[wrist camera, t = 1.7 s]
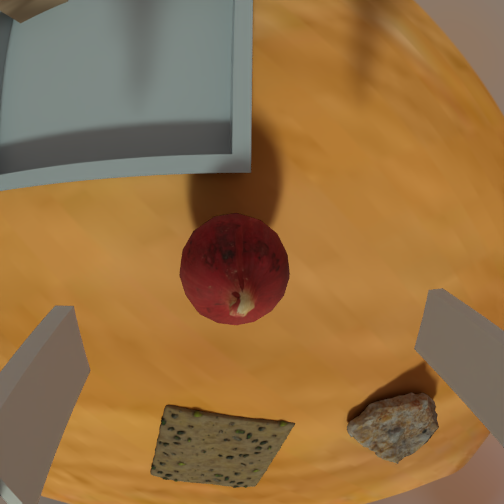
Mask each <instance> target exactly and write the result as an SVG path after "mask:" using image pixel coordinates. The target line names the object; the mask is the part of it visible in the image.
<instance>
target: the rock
mask: <svg viewBox="0 0 504 504" xmlns="http://www.w3.org/2000/svg"><path fill="white" fill-rule="evenodd" d="M435 408H436V406H435V402H434V401H433V400H432V399H431V398H430V397H429V396H428V395H427V394H425V393H420V394H414V393H409V394H406V395H404V396H396V397H393V398H390V399H385V400H381V401H378V402H374V403H371V404H369V405H368V406H367V408H366V409H365V411H363V412H362V413H361V414H360V415H359V416H358V417H356V418H354V419H353V420H351V421H350V422H349V424H348V426H347V431H348V433H349V434H350V436H351V437H354V438H355V439H356V440H357V441H358V442H359V443H360V444H361V445H363V446H364V447H368V448H369V449H370V450H371V451H375V454H376V455H377V456H378V457H380V458H382V459H384V460H389V461H391V462H395V463H398V462H399V461H400V460H402V459H403V458H404V457H406V456H409V455H411V454H413V453H414V452H416V451H417V450H418V449H419V448H420V447H421V446H422V445H424V444H425V443H426V442H427V441H428V440H429V438H431V436H432V435H433V434H434V432H435V431H436V430H437V429H438V427H439V426H438V422H437V413H436V412H435Z"/></svg>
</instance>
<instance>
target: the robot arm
mask: <svg viewBox="0 0 504 504" xmlns="http://www.w3.org/2000/svg"><path fill="white" fill-rule="evenodd" d="M414 349H415V350H416V351H417V352H418V353H419V354H420V355H421V356H422V358H423V359H424V360H425V361H426V362H427V363H428V364H429V365H430V366H431V367H432V368H433V369H434V370H435V371H436V372H437V373H438V374H439V376H440V377H441V378H442V379H443V380H444V381H445V382H446V383H447V384H448V385H449V386H450V387H451V389H452V390H453V391H454V392H455V393H456V394H457V395H458V396H459V397H460V398H461V399H462V401H463V402H464V403H465V404H466V405H467V406H468V407H469V408H470V409H471V411H472V412H473V413H474V414H475V415H476V416H477V417H478V418H479V420H480V421H481V422H482V423H483V424H484V425H485V426H486V428H487V429H488V430H489V431H490V432H491V433H492V434H493V436H494V437H495V438H496V439H497V440H498V441H499V443H500V444H501V445H502V446H503V447H504V331H503V330H502V329H500V328H499V327H497V326H496V325H495V324H493V323H492V322H491V321H489V320H488V319H486V318H485V317H484V316H482V315H481V314H479V313H478V312H476V311H475V310H474V309H472V308H471V307H469V306H468V305H466V304H465V303H463V302H462V301H460V300H459V299H457V298H456V297H455V296H453V295H452V294H450V293H449V292H447V291H446V290H444V289H443V288H442V289H433V290H429V292H428V296H427V301H426V305H425V310H424V314H423V318H422V322H421V326H420V330H419V334H418V337H417V341H416V345H415V348H414ZM89 373H90V368H89V364H88V361H87V357H86V354H85V350H84V347H83V343H82V339H81V335H80V331H79V327H78V323H77V319H76V315H75V310H74V306H55V307H54V308H53V309H52V310H51V311H50V312H49V313H48V314H47V316H46V317H45V318H44V319H43V320H42V321H41V323H40V324H39V325H38V326H37V327H36V328H35V330H34V331H33V332H32V333H31V334H30V336H29V337H28V338H27V339H26V340H25V342H24V343H23V344H22V345H21V347H20V348H19V349H18V350H17V351H16V353H15V354H14V355H13V357H12V358H11V359H10V360H9V362H8V363H7V364H6V365H5V367H4V368H3V369H2V371H1V372H0V496H1V497H2V498H3V499H4V500H5V501H6V502H7V503H8V504H38V502H39V499H40V495H41V492H42V489H43V486H44V484H45V481H46V478H47V475H48V472H49V469H50V467H51V464H52V461H53V458H54V456H55V453H56V450H57V448H58V445H59V443H60V440H61V438H62V435H63V433H64V430H65V428H66V425H67V423H68V420H69V418H70V416H71V413H72V411H73V408H74V406H75V404H76V401H77V399H78V397H79V395H80V392H81V390H82V388H83V386H84V383H85V381H86V379H87V377H88V375H89Z"/></svg>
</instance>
